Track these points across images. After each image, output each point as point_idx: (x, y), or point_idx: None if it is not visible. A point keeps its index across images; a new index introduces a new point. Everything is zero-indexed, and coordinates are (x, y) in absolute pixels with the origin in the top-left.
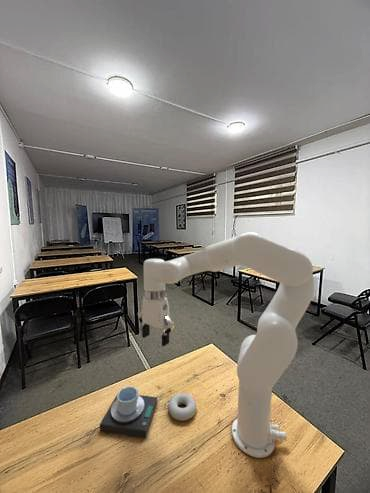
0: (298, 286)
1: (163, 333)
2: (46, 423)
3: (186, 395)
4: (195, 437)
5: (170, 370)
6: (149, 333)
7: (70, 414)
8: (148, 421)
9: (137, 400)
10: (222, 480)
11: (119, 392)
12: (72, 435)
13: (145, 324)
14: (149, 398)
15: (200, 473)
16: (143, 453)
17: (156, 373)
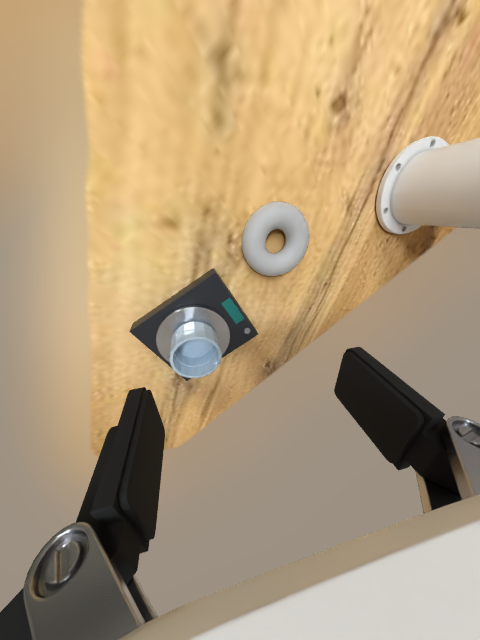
0: None
1: (424, 478)
2: (107, 423)
3: (278, 217)
4: (320, 268)
5: (120, 110)
6: (147, 397)
7: (112, 397)
8: (248, 322)
9: (214, 335)
10: (369, 288)
11: (176, 369)
12: (162, 399)
13: (122, 573)
14: (204, 288)
15: (343, 302)
16: (266, 340)
17: (100, 174)
